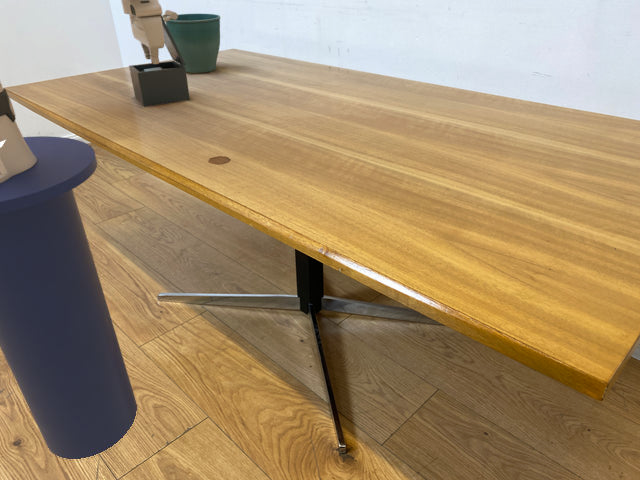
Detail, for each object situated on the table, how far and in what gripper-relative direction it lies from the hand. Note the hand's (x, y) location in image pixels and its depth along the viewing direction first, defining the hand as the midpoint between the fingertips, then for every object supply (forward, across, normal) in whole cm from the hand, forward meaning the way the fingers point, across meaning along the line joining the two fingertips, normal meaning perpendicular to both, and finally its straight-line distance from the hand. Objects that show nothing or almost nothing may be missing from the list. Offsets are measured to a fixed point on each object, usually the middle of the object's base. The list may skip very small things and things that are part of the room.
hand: (152, 61), depth 131 cm
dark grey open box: (+10, 0, 0) cm, 10 cm away
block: (+7, 0, 0) cm, 7 cm away
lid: (-5, 0, +5) cm, 7 cm away
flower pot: (+12, -31, +21) cm, 39 cm away
